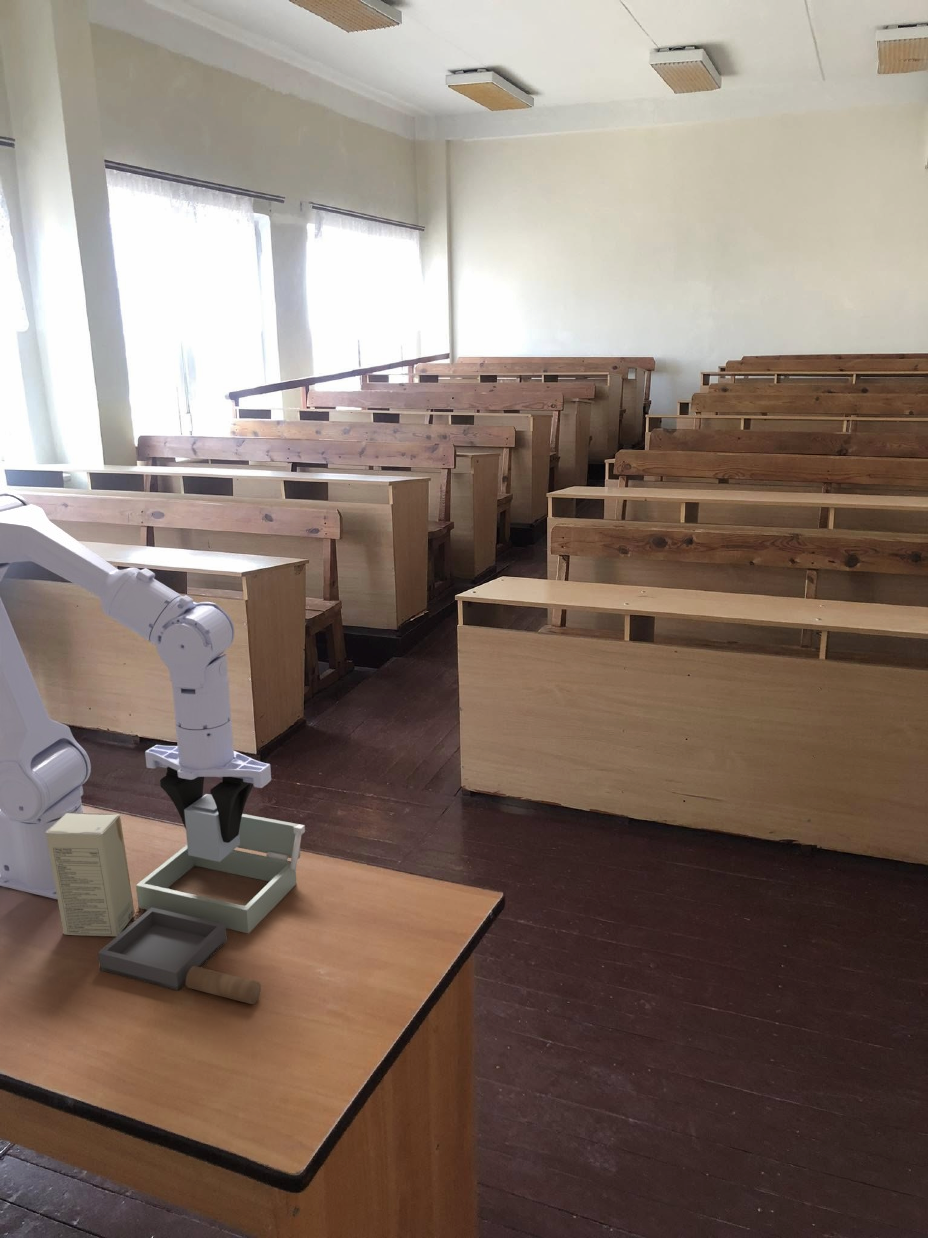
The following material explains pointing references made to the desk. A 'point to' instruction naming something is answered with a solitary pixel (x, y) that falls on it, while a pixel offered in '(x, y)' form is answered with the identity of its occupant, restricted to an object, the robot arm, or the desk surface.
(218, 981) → the rod
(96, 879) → the skincare box
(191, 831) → the block
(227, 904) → the equipment case
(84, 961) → the desk surface
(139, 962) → the socket
